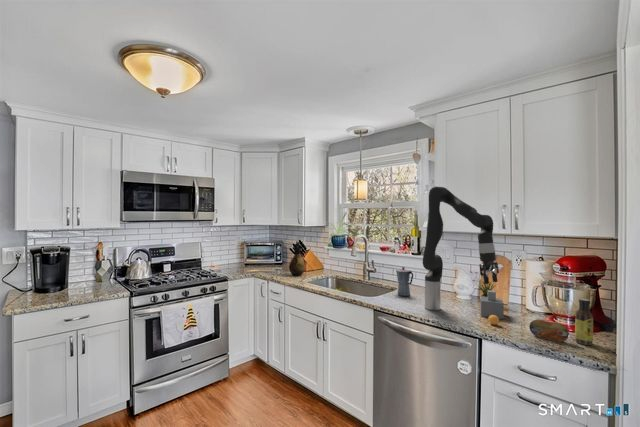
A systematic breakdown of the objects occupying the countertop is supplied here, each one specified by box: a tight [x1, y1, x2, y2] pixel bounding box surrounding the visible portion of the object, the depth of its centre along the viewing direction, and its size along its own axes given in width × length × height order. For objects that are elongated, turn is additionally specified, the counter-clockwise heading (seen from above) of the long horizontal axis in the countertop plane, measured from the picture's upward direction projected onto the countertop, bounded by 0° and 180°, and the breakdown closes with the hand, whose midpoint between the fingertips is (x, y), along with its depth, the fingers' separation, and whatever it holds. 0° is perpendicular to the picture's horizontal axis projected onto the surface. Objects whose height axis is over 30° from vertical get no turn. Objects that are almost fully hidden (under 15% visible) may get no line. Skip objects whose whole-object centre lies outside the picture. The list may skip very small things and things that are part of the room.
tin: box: [528, 318, 570, 343], centre depth 149 cm, size 15×3×8 cm, turn 45°
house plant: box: [476, 280, 499, 297], centre depth 204 cm, size 14×14×16 cm
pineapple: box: [288, 243, 306, 277], centre depth 298 cm, size 17×15×30 cm
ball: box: [487, 315, 500, 326], centre depth 167 cm, size 5×5×5 cm
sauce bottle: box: [574, 298, 594, 346], centre depth 144 cm, size 6×6×20 cm
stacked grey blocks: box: [479, 290, 505, 320], centre depth 184 cm, size 11×11×14 cm
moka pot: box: [395, 266, 414, 297], centre depth 228 cm, size 10×15×20 cm, turn 40°
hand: (491, 282), depth 166 cm, fingers open, 8 cm apart
